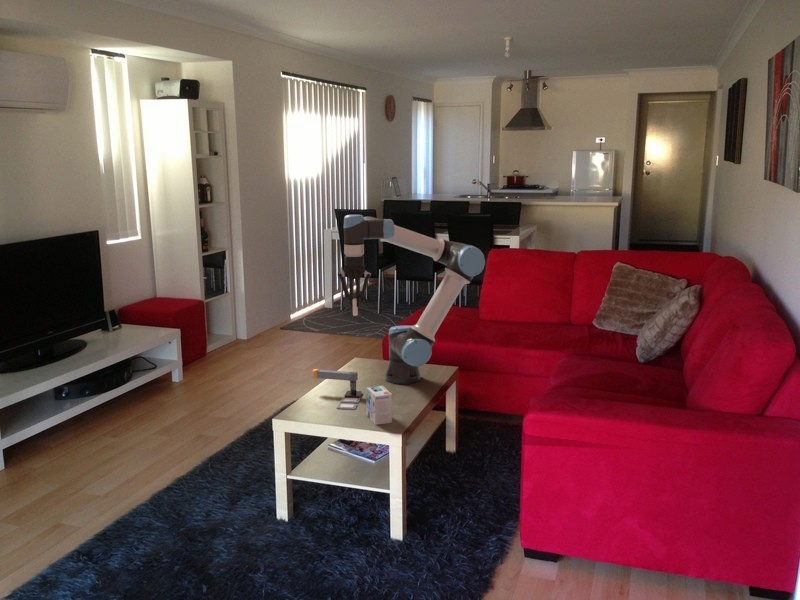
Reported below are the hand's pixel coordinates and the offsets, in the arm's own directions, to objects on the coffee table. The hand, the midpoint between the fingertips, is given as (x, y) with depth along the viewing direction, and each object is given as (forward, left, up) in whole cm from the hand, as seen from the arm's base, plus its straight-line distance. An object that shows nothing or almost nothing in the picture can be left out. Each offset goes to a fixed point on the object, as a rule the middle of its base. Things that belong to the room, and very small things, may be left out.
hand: (355, 315), depth 275 cm
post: (+1, +2, -32) cm, 32 cm away
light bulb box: (-13, +26, -33) cm, 44 cm away
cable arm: (+8, +1, -26) cm, 27 cm away
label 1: (+1, +8, -32) cm, 33 cm away
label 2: (+1, +15, -32) cm, 36 cm away
